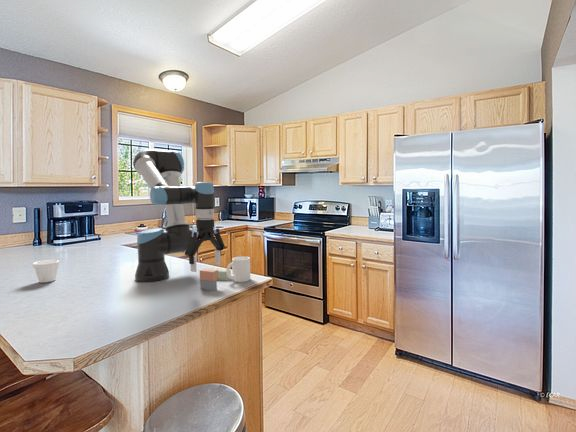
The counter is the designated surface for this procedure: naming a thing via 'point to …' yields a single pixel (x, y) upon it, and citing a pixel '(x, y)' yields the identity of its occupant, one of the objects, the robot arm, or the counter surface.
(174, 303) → the counter surface
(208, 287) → the slate brick
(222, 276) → the sage brick
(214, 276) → the terracotta brick
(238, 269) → the mug
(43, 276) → the cup
